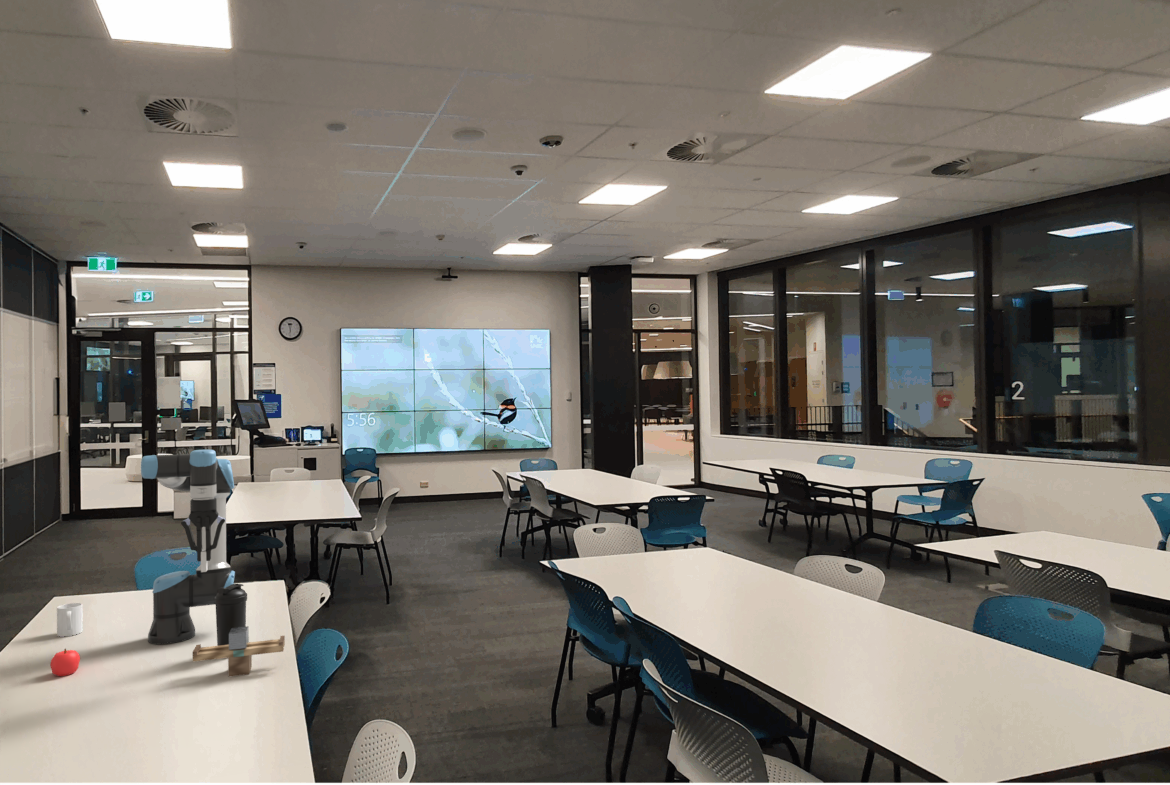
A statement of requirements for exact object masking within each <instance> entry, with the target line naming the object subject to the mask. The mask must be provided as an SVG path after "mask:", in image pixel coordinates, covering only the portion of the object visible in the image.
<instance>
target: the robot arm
mask: <svg viewBox="0 0 1170 785" xmlns="http://www.w3.org/2000/svg"><path fill="white" fill-rule="evenodd" d="M233 473H234V472H233V468H232V463H231V461H230V460H229V459H227V458H217V453H216V451H215V450H214V449H209V448H208V449H195V450H192V451H191V452H190V453H183V454H182V453H181V454H179V453H178V454H156V455H155V454H152V455H144V456H142V458H141V461H140V474H141V477H142V478H143V479H145V480H146V479H150V480H153V479H157V481H158V482H159V484H160V485H162V486H163V487H165V488H168V489H170V490H174V491H180V492H181V491H182V492H189V497H190V500H189V501H190V502H189V503H190V504H189V505H190V511H189V512H190V513H189V515H188V518H185V519H183V520H182V521H181V523H180V524H181V525H182V527H183V528H184V531H185V535H186V538H187V542H188V544H189V548H190V550H191V551H195V552H196V559H197V562H200V565H199V566H198V567H197V568H196V569H195V574H191V573H190V571H188V570H179V571H178V570H177V571H173V572H170V573H166V574H162V575H160V576H159V577H156V579H155V580H154V581H153V586H152V595H153V596H152V597H153V598H152V599H153V603H152V604H153V606H152V607H153V610H152V612H153V613H152V614H153V617H152V618H153V619H152V622H151V625H150V628H149V630H148V633H147V642H148V643H149V644H154V645H165V644H166V645H168V644H175V643H179V642H183V641H187V640H190V639H192V638H194V637H195V636H196V627H195V625H194V624H195V623H194V621H193V619H192V617H191V614H190V610H191V609H190V608H194V607H195V608H196V607H205V606H216V605H215V603H214V598H215V596H216V594H217V590H218V588H226V587H228V586H230V585H231V584H235V582H234V581H235V576H236V571H234V570H231V569H232V567H231V565H230V564H229V563H228V562H227V498H229V496H230V495H231V490H233V489H235V482H234V481H235V480H234V475H233ZM191 523H192V524H193V525H194V526H195V527H196V542H195V538H194V534H193V531H192V528H191V527H192V526H191Z"/></svg>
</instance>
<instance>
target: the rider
mask: <svg viewBox="0 0 1170 785" xmlns="http://www.w3.org/2000/svg"><path fill="white" fill-rule="evenodd" d="M249 640H250V636H249V626H248V625H247V626H246V627H237V628H231V630H230V633H229V650H233V649H242V648H247V645H248V642H249Z"/></svg>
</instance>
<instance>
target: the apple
mask: <svg viewBox="0 0 1170 785" xmlns="http://www.w3.org/2000/svg"><path fill="white" fill-rule="evenodd" d="M80 661H81V656H80V654H79V652H77V650H74V649H69V650H67V648H64V650H61V651H58V652H56V653H55V654H54V655H53V657H52V658H51V659H50V669H51V673H52V674H53V675H54V676H58V677H65V676H70V675H73V674H74V673H75V672H76V671H77V670H78V669H79V666H80Z"/></svg>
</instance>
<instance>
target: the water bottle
mask: <svg viewBox="0 0 1170 785" xmlns="http://www.w3.org/2000/svg"><path fill="white" fill-rule="evenodd" d="M244 586H245V585H244V584H243V583H242V584H241V583H234V584H231V585H230V586H228V587H226V588H218V590H217V594H216V596H215V598H214V603H215V605H214V606H215V620H216V621H215V622H216V623H215V624H216V643H217V645H216V646H220V645H229V633H230V630H231V628H237V627H247V626H246V625H247V601H248V593H247V592H246V591H245V590H244V588H242V587H244Z"/></svg>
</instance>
